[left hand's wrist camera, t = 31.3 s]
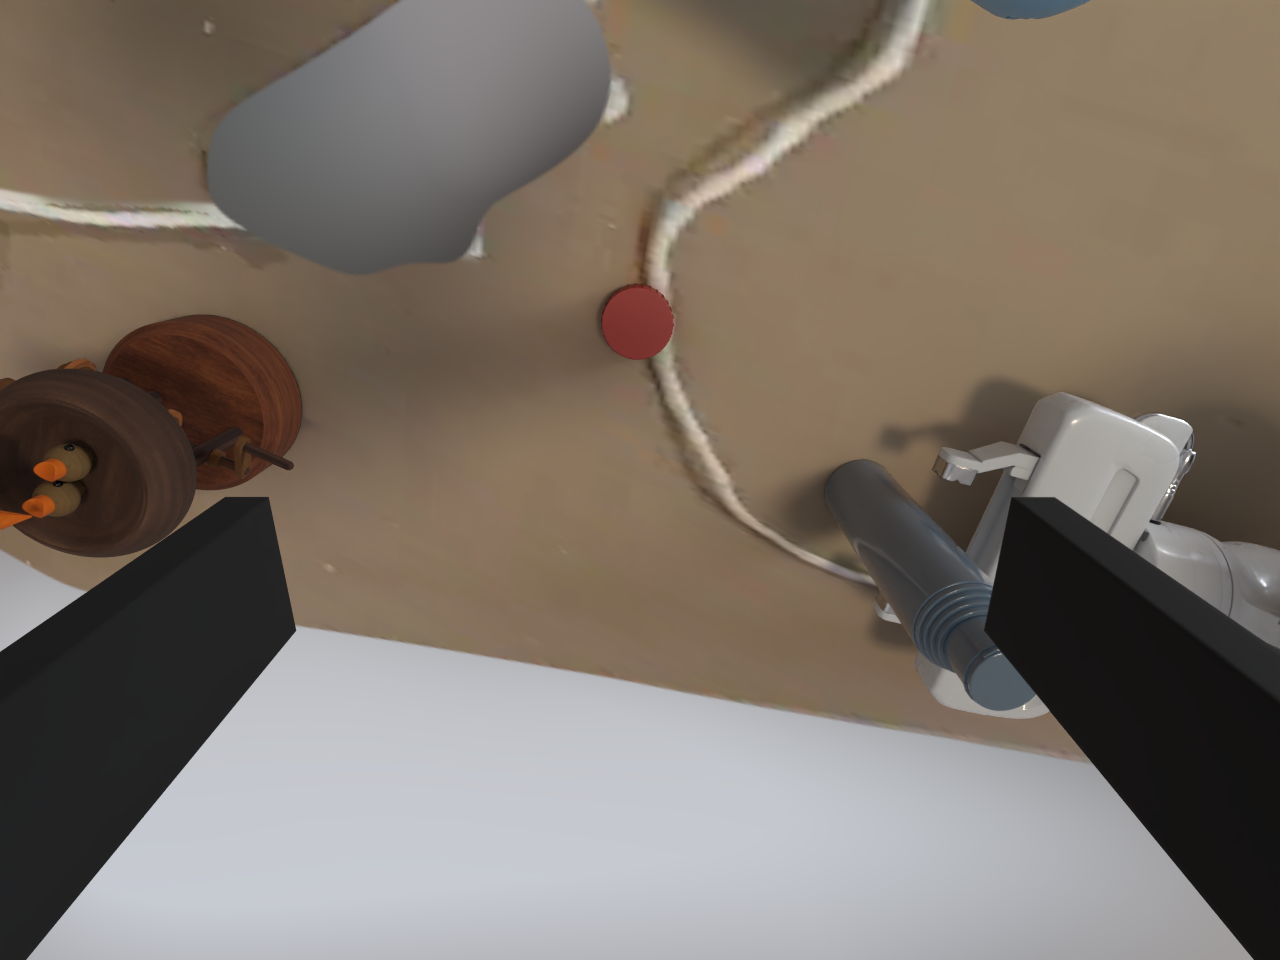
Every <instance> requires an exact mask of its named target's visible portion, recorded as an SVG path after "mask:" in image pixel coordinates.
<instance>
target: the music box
mask: <svg viewBox="0 0 1280 960" xmlns="http://www.w3.org/2000/svg"><path fill="white" fill-rule="evenodd" d="M301 416H302V405H301V398H300V393H299V389H298V386H297V383H296V380H295V378H294V376H293V374H292V372H291V370H290V368H289V366H288V365H287V363H286V362H285V360H284V359H283V357H282V356H281V355H280V354H279V352H278V351H277V350H276V349H275V348H274V347H273V346H272V345H271V344H270V343H269V342H268V341H267V340H265V339H264V338H263V337H262V336H260V335H259V334H258V333H256V332H255V331H253V330H251V329H250V328H248V327H246V326H244V325H242V324H240V323H238V322H235V321H233V320H230V319H226V318H223V317H218V316H212V315H190V316H185V317H180V318H176V319H171V320H167V321H163V322H158V323H154V324H150V325H146V326H143V327H141V328H138V329H136V330H134V331H133V332H131V333H129V334H128V335H126V336H125V337H124V338H123V339H122V340H120V341H119V343H118V344H117V345H116V346H115V347H114V348H113V350H112V351H111V353H110V355H109V357H108V359H107V361H106V363H105V366H104V370H103V373H102V372H97V371H96V367H95V365H94V364H93V363H92V362H90V361H87V360H85V359H77V360H75V361H72V362H69V363H67V364H63V365H61V366H60V367H58V368H57V369H53V370H46V371H41V372H38V373H34V374H31V375H28V376H25V377H23V378H21V379H18V380H16V381H15V380H13V379H11V378H4V379H1V380H0V530H1V529H4V528H6V527H9V526H11V525H13V526H14V527H15V528H17V529H18V530H19V531H21V532H22V533H23V534H25V535H26V536H28V537H30V538H31V539H33V540H35V541H37V542H39V543H41V544H43V545H45V546H47V547H50V548H52V549H55V550H58V551H61V552H64V553H68V554H73V555H78V556H85V557H115V556H122V555H127V554H131V553H134V552H137V551H140V550H143V549H145V548H148V547H150V546H152V545H154V544H155V543H157V542H159V541H160V540H162V539H163V538H165V537H166V536H167V535H169V534H170V533H171V532H172V531H173V530H174V529H175V528H176V527H177V526H178V525H179V524H180V522H181V521H182V520H183V518H184V517H185V515H186V514H187V512H188V510H189V508H190V506H191V503H192V501H193V498H194V494H195V489H200V490H221V489H227V488H231V487H235V486H237V485H240V484H242V483H245V482H246V481H248V480H250V479H252V478H253V477H254V476H256V475H257V474H259V473H260V472H262V471H263V470H265V469H266V468H268V467H269V466H271V465H272V464H274V465H277V466H279V467H281V468H284V469H286V470H291V469H293V467H294V464H293V463H292V462H291V461H288V460H286V459H284V458H281V457H282V456H284V455H285V453H286V452H287V451H288V450H289V449H290V447H291V446H292V444H293V443H294V441H295V439H296V437H297V434H298V431H299V428H300V423H301Z"/></svg>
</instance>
